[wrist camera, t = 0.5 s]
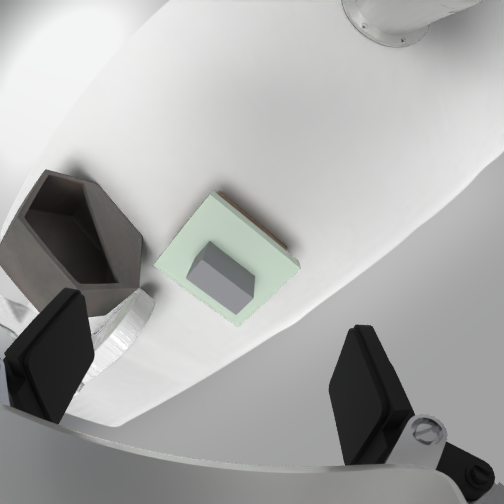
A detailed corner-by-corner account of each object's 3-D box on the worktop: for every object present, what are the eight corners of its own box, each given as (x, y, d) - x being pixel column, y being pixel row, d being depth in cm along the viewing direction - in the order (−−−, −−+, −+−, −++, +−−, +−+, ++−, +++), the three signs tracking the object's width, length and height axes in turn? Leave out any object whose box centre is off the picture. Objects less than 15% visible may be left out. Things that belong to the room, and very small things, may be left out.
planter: (165, 286, 43) (34, 291, 24) (131, 312, 45) (9, 325, 26) (123, 191, 47) (11, 158, 28) (95, 220, 49) (-13, 201, 30)
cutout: (64, 404, 44) (129, 353, 34) (52, 394, 43) (111, 338, 34) (97, 348, 57) (167, 284, 48) (87, 339, 56) (154, 272, 47)
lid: (212, 190, 37) (201, 207, 31) (299, 261, 40) (304, 290, 34) (157, 258, 41) (140, 285, 35) (239, 318, 44) (235, 351, 38)
